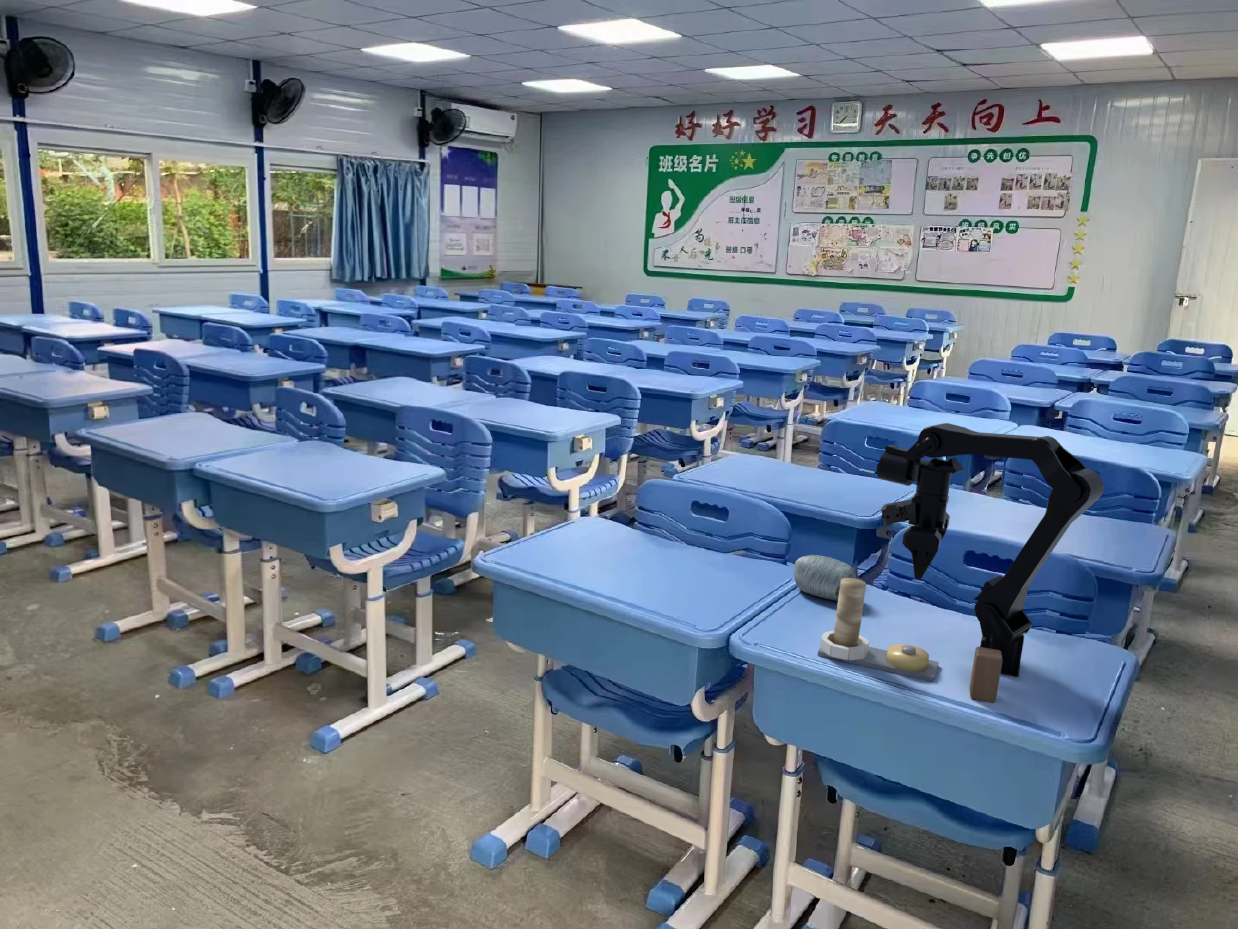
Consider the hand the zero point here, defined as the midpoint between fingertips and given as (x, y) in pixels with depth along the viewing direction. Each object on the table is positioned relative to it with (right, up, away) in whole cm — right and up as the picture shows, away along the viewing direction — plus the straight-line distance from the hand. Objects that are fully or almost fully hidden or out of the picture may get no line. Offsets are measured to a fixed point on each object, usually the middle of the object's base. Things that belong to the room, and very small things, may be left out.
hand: (921, 571), depth 178 cm
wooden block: (+4, -19, -20) cm, 28 cm away
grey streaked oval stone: (-14, -8, +22) cm, 27 cm away
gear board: (-11, -15, -9) cm, 20 cm away
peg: (-16, -13, -7) cm, 22 cm away
